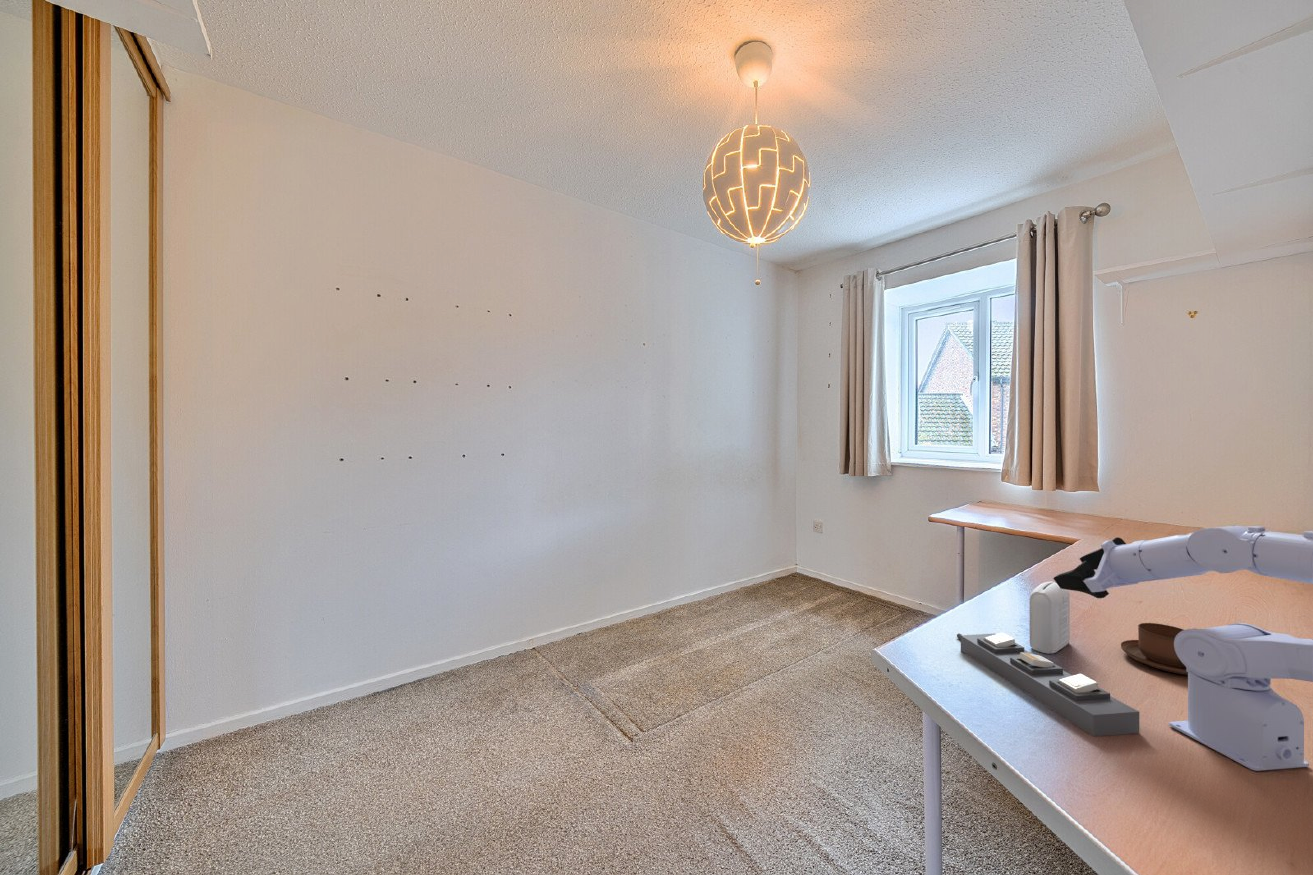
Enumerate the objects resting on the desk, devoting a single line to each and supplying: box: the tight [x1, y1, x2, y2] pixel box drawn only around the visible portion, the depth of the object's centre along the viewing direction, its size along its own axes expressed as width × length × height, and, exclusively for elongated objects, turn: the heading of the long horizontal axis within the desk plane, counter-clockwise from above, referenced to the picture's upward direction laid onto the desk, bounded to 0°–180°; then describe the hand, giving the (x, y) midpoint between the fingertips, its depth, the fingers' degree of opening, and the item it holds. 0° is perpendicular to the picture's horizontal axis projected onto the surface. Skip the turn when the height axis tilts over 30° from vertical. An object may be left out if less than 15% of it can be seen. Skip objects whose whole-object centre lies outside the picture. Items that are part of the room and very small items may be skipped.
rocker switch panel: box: [956, 632, 1140, 737], centre depth 83 cm, size 32×7×4 cm, turn 5°
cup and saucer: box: [1120, 622, 1188, 676], centre depth 86 cm, size 12×12×6 cm
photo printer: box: [1029, 581, 1071, 655], centre depth 94 cm, size 10×4×12 cm, turn 123°
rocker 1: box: [985, 632, 1016, 647], centre depth 88 cm, size 3×4×1 cm
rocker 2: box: [1059, 673, 1099, 693], centre depth 73 cm, size 3×4×1 cm
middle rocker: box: [1019, 652, 1055, 667], centre depth 80 cm, size 3×4×1 cm
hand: (1071, 572), depth 85 cm, fingers open, 7 cm apart
